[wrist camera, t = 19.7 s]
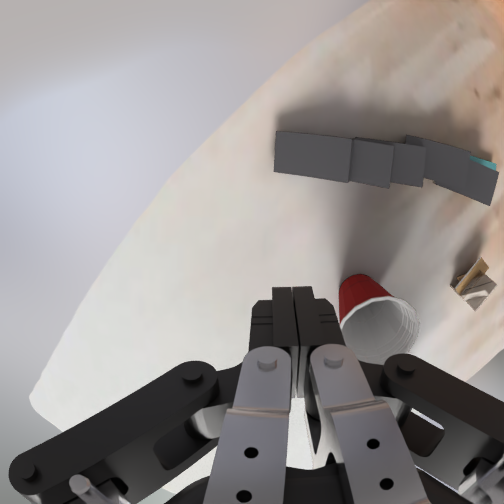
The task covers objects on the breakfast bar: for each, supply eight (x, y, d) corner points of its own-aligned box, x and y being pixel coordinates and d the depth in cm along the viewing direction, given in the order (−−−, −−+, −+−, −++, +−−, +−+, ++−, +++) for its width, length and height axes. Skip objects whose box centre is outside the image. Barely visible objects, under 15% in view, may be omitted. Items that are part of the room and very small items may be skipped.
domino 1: (282, 131, 36) (354, 139, 32) (279, 170, 38) (350, 181, 34) (276, 131, 34) (351, 139, 31) (273, 171, 36) (347, 182, 33)
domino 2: (323, 135, 36) (394, 146, 32) (320, 173, 38) (389, 186, 34) (319, 135, 34) (394, 146, 30) (316, 175, 36) (388, 188, 32)
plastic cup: (366, 241, 41) (396, 281, 30) (400, 291, 44) (431, 336, 33) (306, 287, 44) (317, 339, 33) (346, 331, 47) (363, 383, 36)
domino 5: (441, 149, 35) (495, 171, 31) (433, 182, 37) (486, 203, 34) (443, 149, 33) (499, 172, 30) (434, 183, 35) (489, 206, 32)
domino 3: (356, 137, 36) (423, 147, 33) (353, 175, 38) (420, 185, 35) (355, 137, 34) (426, 147, 31) (352, 176, 36) (422, 187, 33)
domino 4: (406, 135, 35) (467, 151, 31) (401, 171, 37) (461, 187, 33) (406, 134, 33) (470, 151, 30) (401, 172, 35) (464, 189, 32)
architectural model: (444, 279, 43) (465, 302, 36) (469, 248, 41) (494, 267, 34) (453, 289, 44) (474, 312, 37) (478, 259, 42) (502, 279, 35)
